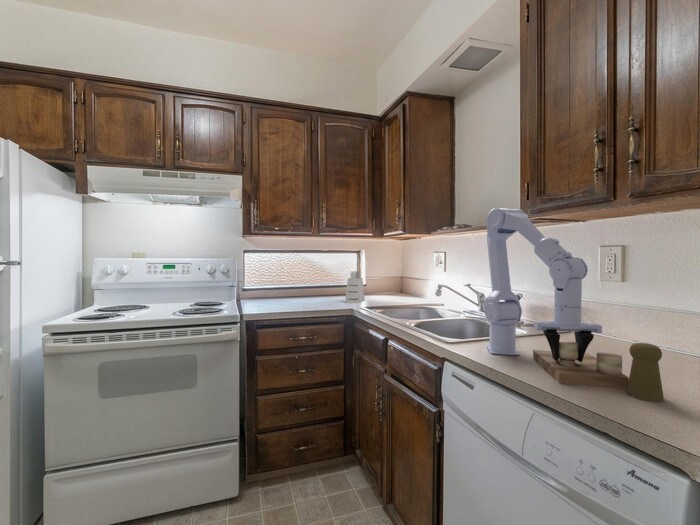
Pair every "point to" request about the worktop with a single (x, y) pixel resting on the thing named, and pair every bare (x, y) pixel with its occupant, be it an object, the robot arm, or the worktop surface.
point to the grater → (354, 289)
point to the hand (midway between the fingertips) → (567, 359)
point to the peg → (567, 353)
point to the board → (586, 369)
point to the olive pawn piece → (645, 373)
